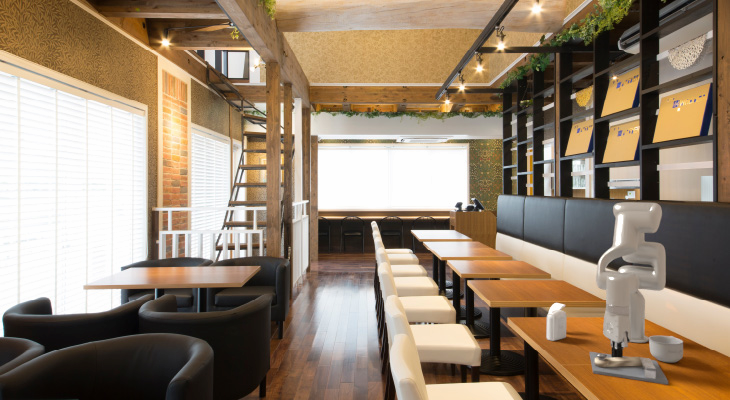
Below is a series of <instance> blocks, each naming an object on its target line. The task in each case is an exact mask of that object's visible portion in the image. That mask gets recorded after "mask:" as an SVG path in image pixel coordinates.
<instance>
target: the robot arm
mask: <svg viewBox="0 0 730 400" xmlns="http://www.w3.org/2000/svg"><path fill="white" fill-rule="evenodd" d="M612 208H613V209H612V212H613V216H614V217H615V219H614V220H615V222H614V231H613V239H612V246H611V247H610V248H609V249H607V250H606V251H605V252H604V253H603V254H602V255H601V256H600V258H599V260H598V262H597V265H596V266H597V267H596V275H595V283H596V286H597V287H598V288H599V289H601V290H604V291H606V292H605V293H606V296H605V302H606V304H605V311H604V316H603V324H602V325H603V326H602V327H603V329H602V333H603V335H604V337H605V338H607V339H609V341H610V347H611V355H612V358H614V357H623V356H624V355H623V354H624V353H623V352H624V351H623V350H624V349H625V348H628V346H629V344H630V343H639V344H641V343H642V344H644V343H647V342H649V336H647V335H645V332H646V331H645V325H646V323H645V321H646V318H645V317H646V313H645V312H646V299H645V296H644V295H643V293H642V292H641V291H640V290H647V291H657V292H660V291H663V290H664V289H665V287H666V283H667V282H666V278H667V277H666V275H667V271H666V269H667V268H666V267H667V265H666V263H667V262H666V260H667V257H666V249H665V248H666V247H664V245H663V244H662V243H659V242H655V241H645V234H654V233H656V232H657V231H658V229H659V227H660V224H661V220H662V216H663V211H662V207H661V205H660V204H658V203H657V202H638V201H637V202H636V201H635V202H634V201H633V202H631V201H630V202H627V201H626V202H623V201H622V202H617V203H615V204H614V205H613V207H612ZM621 257H622V260H623V261H625V262H627V263H631V264H641V265H649V266H651V267H649V266H639V265H629V264H628V265H622V266H621V267H619V268H618V270H617V271H616V270H615V271H614V270H607V266H608V265H609V264H610V263H611V262H612V261H613V260H617V259H618V258H621Z"/></svg>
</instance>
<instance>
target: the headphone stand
mask: <svg viewBox="0 0 730 400" xmlns="http://www.w3.org/2000/svg"><path fill="white" fill-rule="evenodd" d="M565 307H566V304H563V303H559V302H555V303H553V304H552V305H551V306H550V308H549V310H548V313H550V312H551V311H553V310H562V309H563V308H565Z"/></svg>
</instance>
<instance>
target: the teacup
mask: <svg viewBox="0 0 730 400" xmlns="http://www.w3.org/2000/svg"><path fill="white" fill-rule="evenodd" d="M648 338H649V341H648V342H649V352H650V354H651V356H652V357H654V358H655V359H656V361H661V362H664V363H677V362H679V361H680V360H682V359H683V356H684V340H683V339H680V338H677V337H675V336H673V335H670V336H669V335H651V336H648Z"/></svg>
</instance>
